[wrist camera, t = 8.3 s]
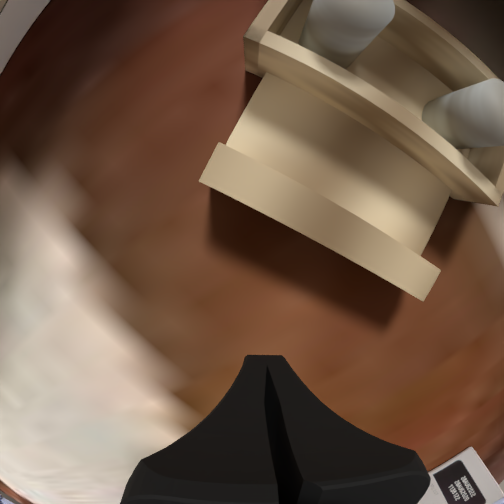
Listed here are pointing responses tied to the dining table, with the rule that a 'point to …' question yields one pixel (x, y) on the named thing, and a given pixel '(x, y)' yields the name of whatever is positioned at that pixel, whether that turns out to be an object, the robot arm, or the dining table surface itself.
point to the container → (462, 482)
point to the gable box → (16, 24)
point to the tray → (363, 130)
